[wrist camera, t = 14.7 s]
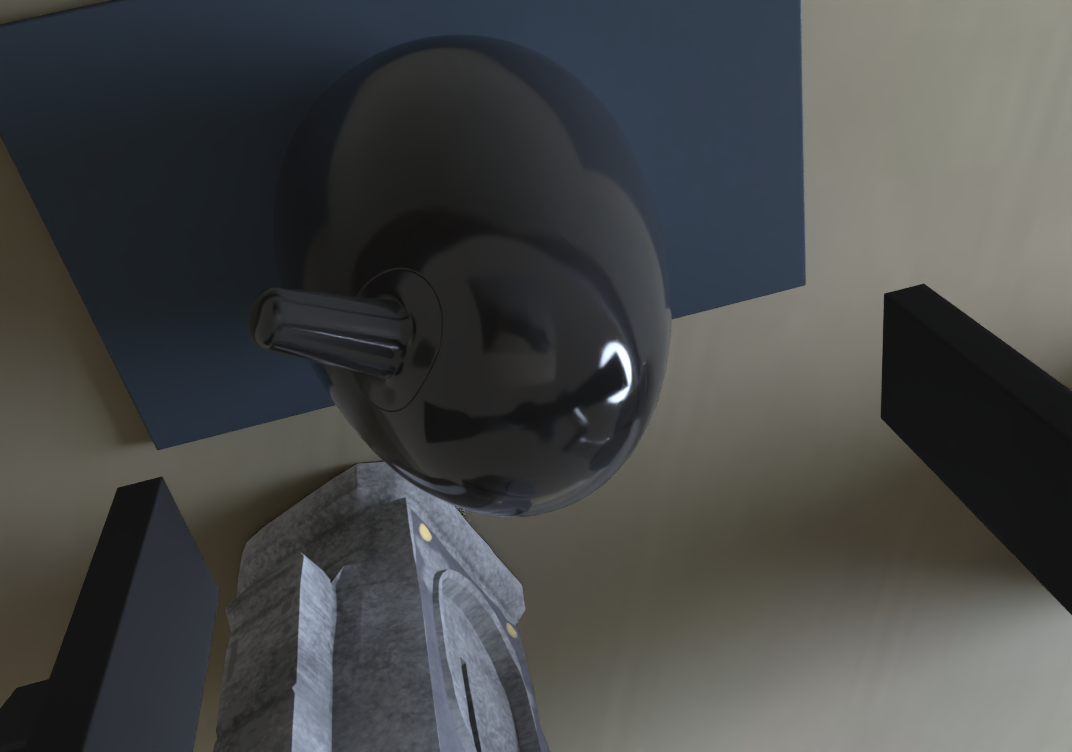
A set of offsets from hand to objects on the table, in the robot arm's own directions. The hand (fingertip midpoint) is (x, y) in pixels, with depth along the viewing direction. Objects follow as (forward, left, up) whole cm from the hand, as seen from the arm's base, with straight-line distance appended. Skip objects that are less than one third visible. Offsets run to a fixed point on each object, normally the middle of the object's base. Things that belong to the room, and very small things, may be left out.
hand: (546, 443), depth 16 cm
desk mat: (0, 0, -15) cm, 15 cm away
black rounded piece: (0, 0, -15) cm, 15 cm away
